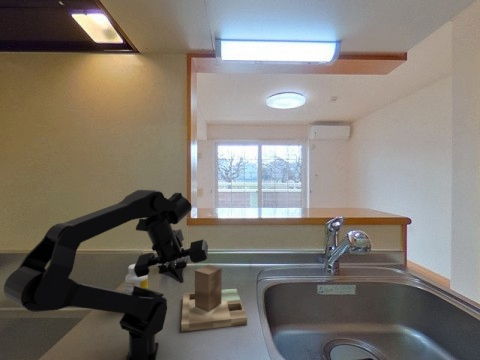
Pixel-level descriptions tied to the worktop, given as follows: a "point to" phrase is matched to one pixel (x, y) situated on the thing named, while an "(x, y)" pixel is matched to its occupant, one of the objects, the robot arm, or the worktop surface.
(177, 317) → the worktop surface
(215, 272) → the walnut box
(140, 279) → the supplement bottle
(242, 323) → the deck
